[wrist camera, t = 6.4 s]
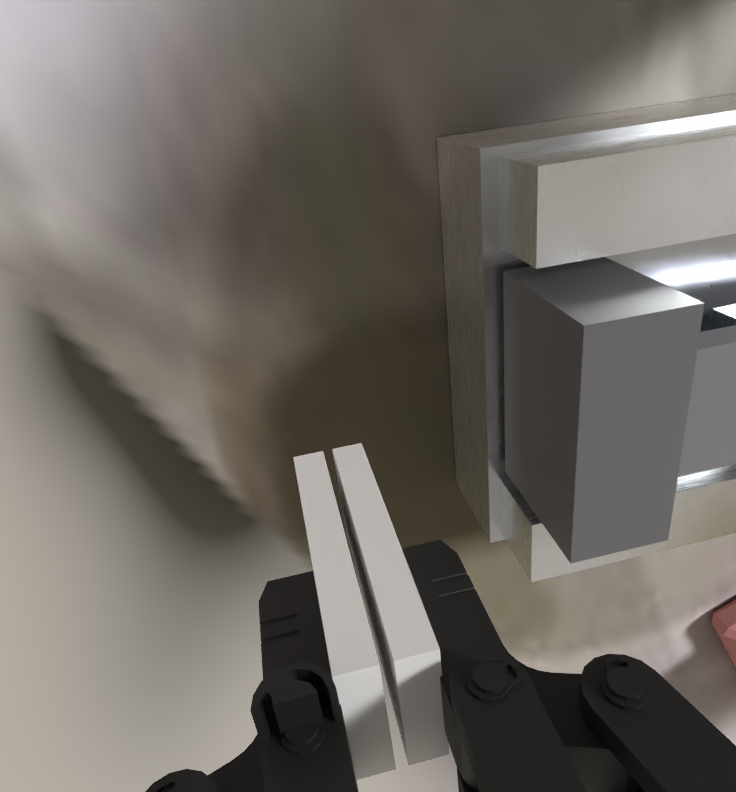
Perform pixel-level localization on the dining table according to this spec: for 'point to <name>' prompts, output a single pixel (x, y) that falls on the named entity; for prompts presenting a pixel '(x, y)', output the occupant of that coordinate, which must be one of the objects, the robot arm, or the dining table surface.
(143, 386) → the dining table surface
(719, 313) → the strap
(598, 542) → the grey slider block
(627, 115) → the rail slide plate
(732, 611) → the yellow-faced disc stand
